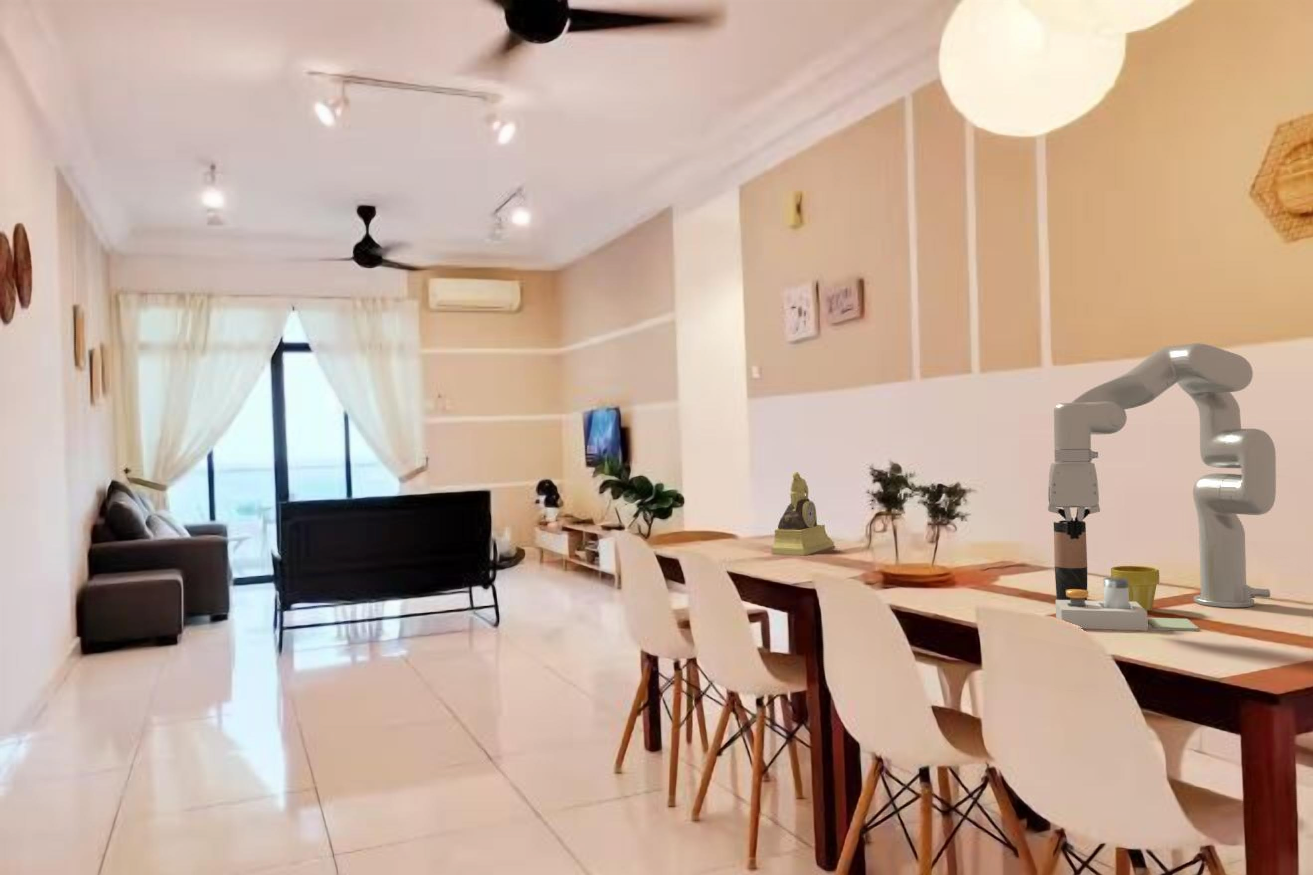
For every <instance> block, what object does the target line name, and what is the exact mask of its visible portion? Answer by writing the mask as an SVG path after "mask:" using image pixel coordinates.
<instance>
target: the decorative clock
mask: <svg viewBox="0 0 1313 875" xmlns="http://www.w3.org/2000/svg"><path fill="white" fill-rule="evenodd" d="M792 478H793V479H792V481H791V483H790V484H791V486H790V494H789V496H790V503H789V504H788V506H787V507H786V509H785V511H784V513H783V514H782V516H781V517H780V519H779V521H778V525H777V529H774V539H773V540H774V541H773V545H772V546H771V547H772V548H771V555H786V556H804V557H805V556H806V555H810V554H813V553H816V552H820V551H823V550H826V549H829V548H834V547H835V541H834V540H833V539H831V538H830V537H829V536H828V534H827V532H826V528H825V527H826V526H825V524H817V523H818V521H817V508H816V505H815V503H814V501H812V500H810V499H809V487H808V484H807V481H806V479H805V478H802V477H801V476H800V473H799V472H798V471H794V472H792Z"/></svg>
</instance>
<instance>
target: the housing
mask: <svg viewBox="0 0 1313 875" xmlns="http://www.w3.org/2000/svg"><path fill="white" fill-rule="evenodd" d="M1055 618H1056V619H1057V618H1058V619H1060V620H1064V621H1066V622H1069V623H1072V624H1075V625H1078V626H1080V627H1082V628H1081V629H1089V630H1090V629H1092V630H1121V631H1122V630H1123V631H1148V630H1149V629H1148V619H1147V618H1148V611H1146V610H1145V609H1144V608H1142V607H1141V606H1140V605H1139V604H1138V603H1137V602H1130V601H1129V609H1106V608H1104V600H1088V599H1087V600H1085V607H1070V600H1057V599H1055Z"/></svg>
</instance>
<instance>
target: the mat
mask: <svg viewBox="0 0 1313 875" xmlns="http://www.w3.org/2000/svg"><path fill="white" fill-rule="evenodd" d="M1147 622H1149V624H1150V625H1152V626H1153V627H1154V628H1155V629H1156V630H1157V631H1181V632H1183V631H1185V632H1187V631H1189V632H1199V631H1200V628H1199V627H1198V626H1197V625H1195V624H1194V622H1192V621H1191V620H1189V619H1188V618H1177V617H1176V618H1173V617H1172V618H1171V617H1147Z"/></svg>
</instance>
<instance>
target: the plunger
mask: <svg viewBox="0 0 1313 875" xmlns="http://www.w3.org/2000/svg"><path fill="white" fill-rule="evenodd" d="M1066 596H1067V597H1070V607H1085V598H1087V599H1088V598H1089V596H1090V595H1089V590H1088V589H1087V590H1081V589H1069V590H1066Z"/></svg>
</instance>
